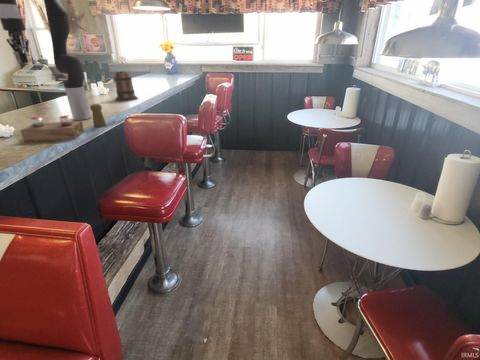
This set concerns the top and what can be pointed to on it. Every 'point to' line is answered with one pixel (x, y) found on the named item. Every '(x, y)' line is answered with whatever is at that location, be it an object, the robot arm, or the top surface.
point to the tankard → (124, 87)
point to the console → (52, 131)
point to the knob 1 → (36, 121)
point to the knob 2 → (65, 120)
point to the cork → (97, 115)
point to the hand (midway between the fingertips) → (25, 62)
